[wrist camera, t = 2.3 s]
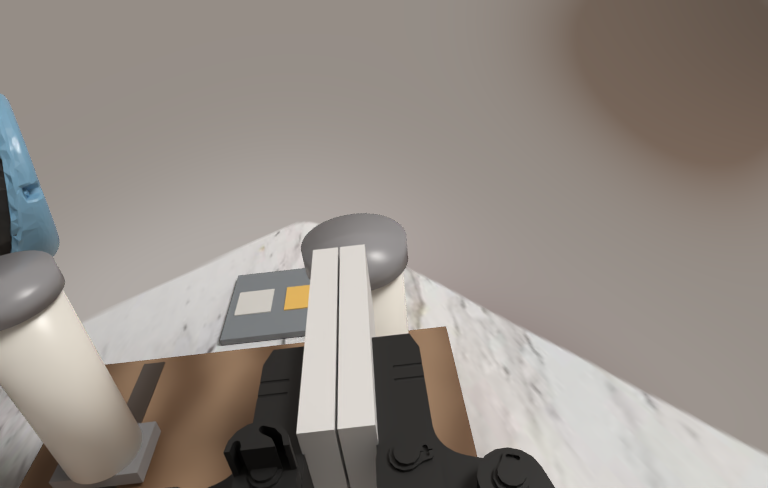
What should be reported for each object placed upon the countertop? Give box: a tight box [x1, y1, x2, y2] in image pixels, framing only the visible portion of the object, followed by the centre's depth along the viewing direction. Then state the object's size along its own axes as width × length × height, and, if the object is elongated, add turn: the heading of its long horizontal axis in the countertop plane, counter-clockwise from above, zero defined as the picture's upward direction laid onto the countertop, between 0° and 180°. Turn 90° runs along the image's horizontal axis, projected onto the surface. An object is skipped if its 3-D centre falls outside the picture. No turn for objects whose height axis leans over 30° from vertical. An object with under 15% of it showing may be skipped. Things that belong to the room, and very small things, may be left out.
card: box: [220, 268, 310, 345], centre depth 47 cm, size 9×9×1 cm
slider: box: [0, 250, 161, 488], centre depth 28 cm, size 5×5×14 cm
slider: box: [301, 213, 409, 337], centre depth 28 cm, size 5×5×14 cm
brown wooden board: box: [19, 327, 477, 488], centre depth 35 cm, size 28×13×2 cm, turn 94°
